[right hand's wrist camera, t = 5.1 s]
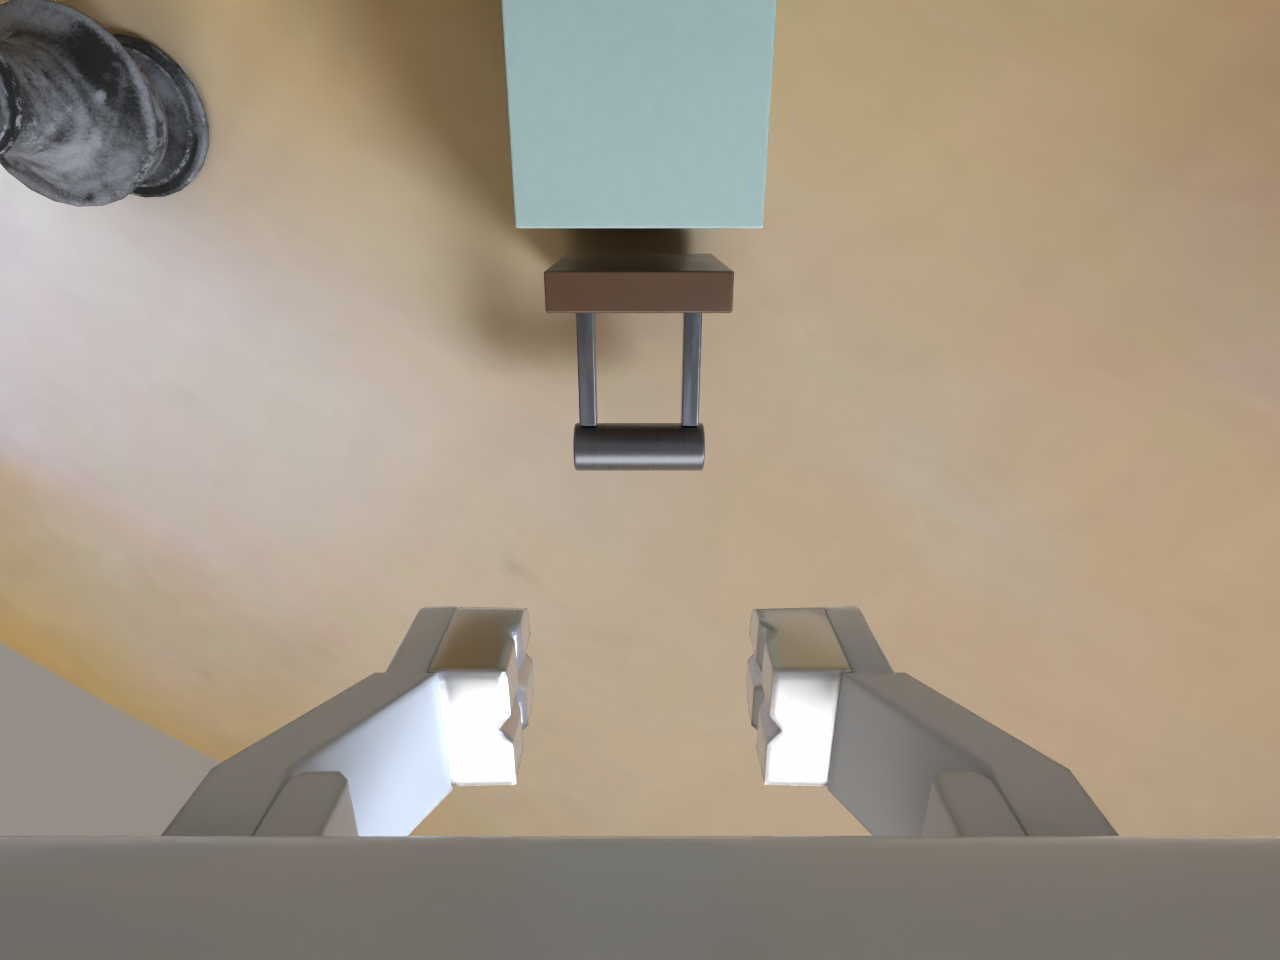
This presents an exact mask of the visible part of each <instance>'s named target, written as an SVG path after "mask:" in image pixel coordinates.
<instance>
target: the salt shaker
mask: <svg viewBox="0 0 1280 960" xmlns="http://www.w3.org/2000/svg"><path fill="white" fill-rule="evenodd" d="M207 150H208V123H207V119H206V114H205V110H204V106H203V104H202V101H201V99H200V97H199V95H198V93H197V91H196V89H195V87H194V85H193V83H192V82H191V81H190V79H189V78H188V77H187V75H186V74H185V73H184V72H183V70H182V69H181V68H180V66H179V65H178V64H177V63H175V62H174V61H173V60H172V59H171V58H170V57H168V56H167V55H166V54H165V53H164V52H163V51H162V50H160V49H158V48H156V47H154V46H152V45H150V44H149V43H147V42H145V41H143V40H141V39H137V38H133V37H129V36H125V35H121V34H111V33H109V32H108V31H107V30H106V29H105V28H104V27H102V26H101V25H100V24H99V23H98V22H97V21H95V20H94V19H93V18H91V17H89V16H87V15H85V14H83V13H81V12H79V11H78V10H76V9H74V8H72V7H70V6H68V5H65V4H61V3H57V2H53V1H49V0H11V1H8V2H6V3H3V4H1V5H0V163H1V165H2V166H3V167H4V168H5V169H6V170H7V171H8V172H9V173H10V174H11V175H13V176H14V177H15V178H16V179H18V180H19V181H20V182H22V183H23V184H24V185H25V186H27V187H28V188H29V189H31V190H33V191H35V192H37V193H39V194H41V195H43V196H45V197H47V198H49V199H51V200H53V201H56V202H61V203H65V204H69V205H74V206H78V207H82V206H104V205H107V204H110V203H112V202H115V201H118V200H121V199H123V198H125V197H126V196H127V195H128V194H133V195H137V196H142V197H162V196H167V195H170V194H173V193H175V192H178V191H181V190H182V189H183V188H185V187H186V186H187V185H188V184H190V183H191V182H192V181H193V180H194V179H195V178H196V176H197V175H198V173H199V171H200V170H201V168H202V167H203V165H204V161H205V158H206V154H207Z"/></svg>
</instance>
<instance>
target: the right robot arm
mask: <svg viewBox="0 0 1280 960" xmlns="http://www.w3.org/2000/svg"><path fill="white" fill-rule="evenodd" d="M529 638H530V624H529V614H528V612H527V609H526V608H487V607H459V608H458V607H456V606H455V607H424V608H422V609H420V610H419V612H418V613H417V615H416V617H415V619H414V621H413V623H412V625H411V626H410V628H409V630H408V632H407V634H406V636H405V637H404V639H403V641H402V643H401V645H400V647H399V648H398V650H397V652H396V654H395V656H394V658H393V659H392V661H391V663H390V665H389V667H388V669H387V671H386V672H385V673H374V674H372V675H370V676H369V677H367V678H365V679H364V680H362V681H360V682H358V683H357V684H355V685H353V686H352V687H350V688H348V689H347V690H345V691H343V692H341V693H340V694H338V695H336V696H335V697H333V698H331V699H329V700H328V701H326V702H324V703H323V704H321V705H319V706H318V707H316V708H314V709H312V710H311V711H309V712H307V713H306V714H304V715H302V716H300V717H299V718H297V719H295V720H294V721H292V722H290V723H289V724H287V725H285V726H283V727H282V728H280V729H278V730H277V731H275V732H273V733H272V734H270V735H268V736H266V737H265V738H263V739H261V740H260V741H258V742H256V743H254V744H253V745H251V746H249V747H248V748H246V749H244V750H243V751H241V752H239V753H237V754H236V755H234V756H232V757H231V758H229V759H227V760H225V761H224V762H222V763H220V764H219V765H217V766H215V767H214V768H212V769H211V770H210V772H209V773H208V774H207V776H206V777H205V778H204V780H203V781H202V782H201V784H200V785H199V786H198V787H197V789H196V790H195V791H194V793H193V794H192V795H191V797H190V798H189V799H188V801H187V802H186V803H185V805H184V806H183V807H182V809H181V810H180V811H179V813H178V814H177V815H176V817H175V818H174V819H173V820H172V822H171V823H170V824H169V826H168V827H167V828H166V830H165V831H164V832H163V834H162V835H161V836H0V960H1280V836H1119V835H1118V834H1117V832H1116V831H1115V830H1114V828H1113V827H1112V826H1111V824H1110V823H1109V822H1108V820H1107V819H1106V818H1105V817H1104V815H1103V814H1102V813H1101V811H1100V810H1099V809H1098V807H1097V806H1096V805H1095V803H1094V802H1093V801H1092V799H1091V798H1090V797H1089V795H1088V794H1087V793H1086V791H1085V790H1084V789H1083V787H1082V786H1081V785H1080V783H1079V782H1078V781H1077V779H1076V778H1075V777H1074V775H1073V774H1072V773H1071V771H1070V770H1069V769H1067V768H1066V767H1064V766H1062V765H1061V764H1059V763H1057V762H1056V761H1054V760H1052V759H1050V758H1049V757H1047V756H1045V755H1044V754H1042V753H1040V752H1039V751H1037V750H1035V749H1033V748H1032V747H1030V746H1028V745H1027V744H1025V743H1023V742H1022V741H1020V740H1018V739H1016V738H1015V737H1013V736H1011V735H1010V734H1008V733H1006V732H1005V731H1003V730H1001V729H999V728H998V727H996V726H994V725H993V724H991V723H989V722H988V721H986V720H984V719H983V718H981V717H979V716H977V715H976V714H974V713H972V712H971V711H969V710H967V709H966V708H964V707H962V706H960V705H959V704H957V703H955V702H954V701H952V700H950V699H949V698H947V697H945V696H943V695H942V694H940V693H938V692H937V691H935V690H933V689H932V688H930V687H928V686H926V685H925V684H923V683H921V682H920V681H918V680H916V679H915V678H913V677H911V676H910V675H908V674H906V673H894V671H893V669H892V667H891V665H890V664H889V662H888V660H887V658H886V656H885V654H884V653H883V651H882V649H881V647H880V645H879V644H878V642H877V640H876V638H875V636H874V634H873V633H872V631H871V629H870V627H869V625H868V624H867V622H866V620H865V618H864V616H863V614H862V613H861V611H860V609H858V608H857V607H855V606H847V607H821V608H783V609H753V610H752V615H751V621H750V638H751V643H752V647H753V651H754V654H753V655H752V656H751V657H750V658H749V659H748V665H747V700H748V708H749V714H750V720H751V725H752V726H753V727H754V728H756V729H757V730H758V733H757V753H758V757H759V762H760V766H761V771H762V775H763V780H764V784H765V785H801V786H828V790H829V791H830V792H831V793H832V794H833V795H834V796H835V797H836V798H837V799H838V800H839V801H840V802H841V803H842V805H843V806H844V807H845V808H846V809H847V810H848V811H849V812H850V813H851V814H852V815H853V816H854V817H855V818H856V819H857V820H858V821H859V822H860V823H861V824H862V825H863V826H864V827H865V828H866V829H867V830H868V831H869V832H870V833H871V834H872V835H873V836H408V835H409V834H410V833H411V832H412V831H413V829H414V828H415V827H416V826H417V825H418V824H419V823H420V822H421V821H422V820H423V819H424V818H425V817H426V816H427V815H428V814H429V813H430V812H431V811H432V810H433V809H434V808H435V807H436V806H437V805H438V804H439V803H440V802H441V801H442V800H443V799H444V798H445V797H446V796H447V795H448V794H449V793H450V791H451V790H452V786H478V785H513V784H516V780H517V775H518V770H519V766H520V761H521V757H522V752H523V734H522V730H523V729H524V728H526V727H527V726H528V724H529V719H530V714H531V707H532V696H533V666H532V659H531V658H530V657H529V656H528V655H527V654H526V651H527V646H528V642H529Z"/></svg>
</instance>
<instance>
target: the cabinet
mask: <svg viewBox="0 0 1280 960" xmlns="http://www.w3.org/2000/svg"><path fill="white" fill-rule="evenodd" d="M776 2H777V0H501V8H502V24H503V40H504V56H505V72H506V88H507V105H508V121H509V137H510V153H511V169H512V185H513V201H514V217H515V227H516V228H762V226H763V215H764V198H765V182H766V166H767V149H768V133H769V117H770V100H771V84H772V68H773V51H774V35H775V19H776Z"/></svg>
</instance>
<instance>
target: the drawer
mask: <svg viewBox="0 0 1280 960" xmlns="http://www.w3.org/2000/svg"><path fill="white" fill-rule="evenodd" d="M733 283H734V272H733V271H732V270H731V269H729V268H728V267H727V266H726V265H724V264H723V263H722V262H721V261H719V260H718V259H717V258H716V257H714V256H713V255H712V254H566V255H565V256H564V257H563V258H561V259H560V260H559V261H557V262H556V263H555V264H554V265H552V266H551V267H550V268H549V269H547V270H546V271H545V272H544V284H545V305H546V312H547V313H576V326H577V356H578V386H579V416H580V423H577V424H575V428H574V465H575V469H576V470H702V469H703V466H704V454H705V437H704V427H703V424H702V423H698V422H699V391H700V360H701V329H702V313H731V312H732V304H733ZM595 313H683V343H682V388H681V423H597V380H596V338H595Z"/></svg>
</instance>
